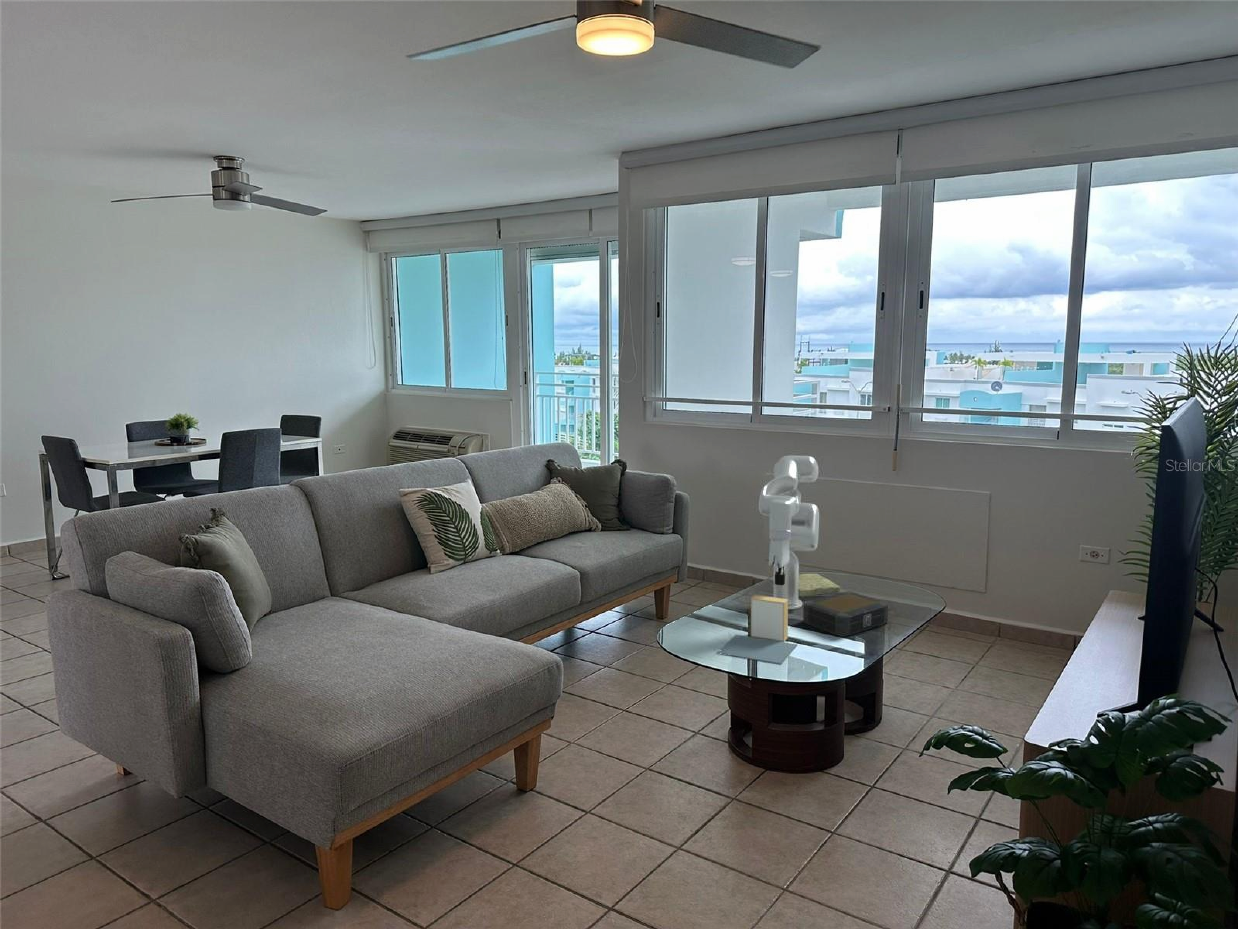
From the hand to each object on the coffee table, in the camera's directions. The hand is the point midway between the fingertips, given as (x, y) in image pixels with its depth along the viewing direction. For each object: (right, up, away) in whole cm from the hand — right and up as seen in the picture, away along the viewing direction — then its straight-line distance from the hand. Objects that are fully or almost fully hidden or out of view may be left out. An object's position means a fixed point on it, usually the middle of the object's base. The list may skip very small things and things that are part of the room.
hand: (779, 584), depth 298 cm
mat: (-11, -19, -18) cm, 29 cm away
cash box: (+25, -15, +5) cm, 30 cm away
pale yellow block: (-5, -17, -7) cm, 20 cm away
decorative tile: (+21, -9, +47) cm, 52 cm away
